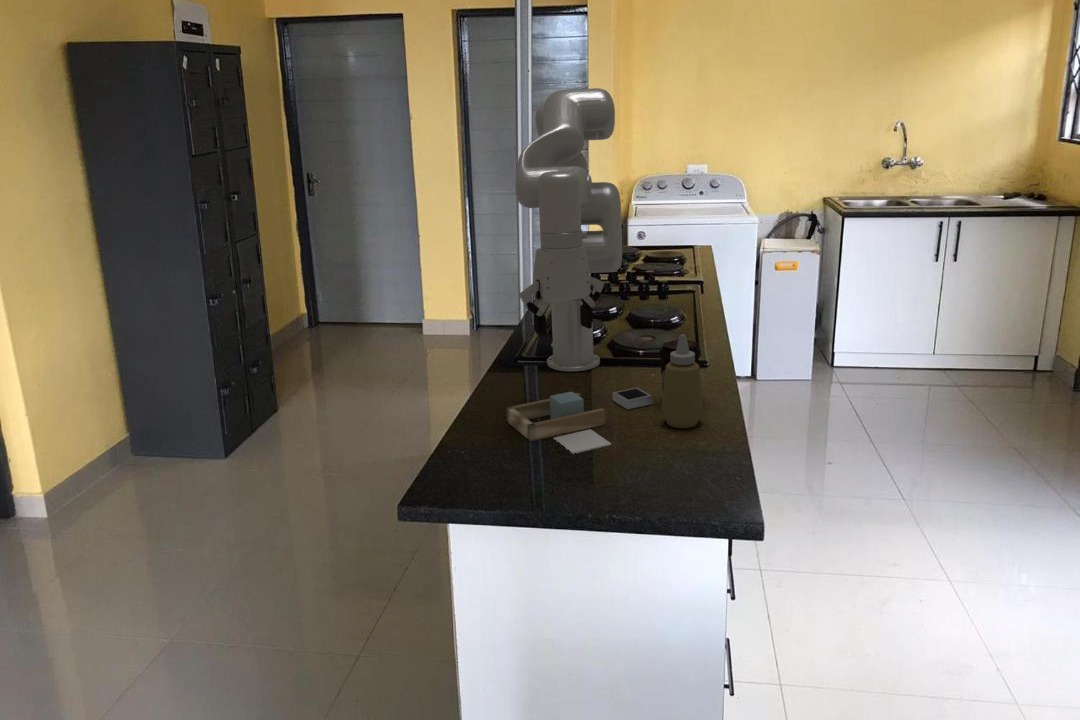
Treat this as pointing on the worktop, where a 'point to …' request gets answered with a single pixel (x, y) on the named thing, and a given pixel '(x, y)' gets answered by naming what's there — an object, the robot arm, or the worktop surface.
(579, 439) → the mat
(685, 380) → the squeeze bottle
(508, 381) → the worktop surface
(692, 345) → the coffee cup
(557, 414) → the blue block
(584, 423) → the cubby
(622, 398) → the tray
